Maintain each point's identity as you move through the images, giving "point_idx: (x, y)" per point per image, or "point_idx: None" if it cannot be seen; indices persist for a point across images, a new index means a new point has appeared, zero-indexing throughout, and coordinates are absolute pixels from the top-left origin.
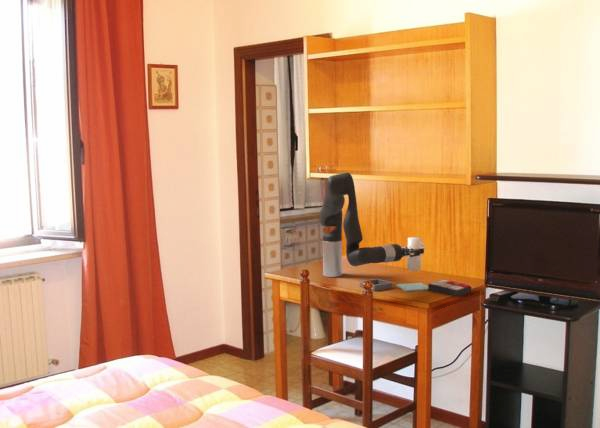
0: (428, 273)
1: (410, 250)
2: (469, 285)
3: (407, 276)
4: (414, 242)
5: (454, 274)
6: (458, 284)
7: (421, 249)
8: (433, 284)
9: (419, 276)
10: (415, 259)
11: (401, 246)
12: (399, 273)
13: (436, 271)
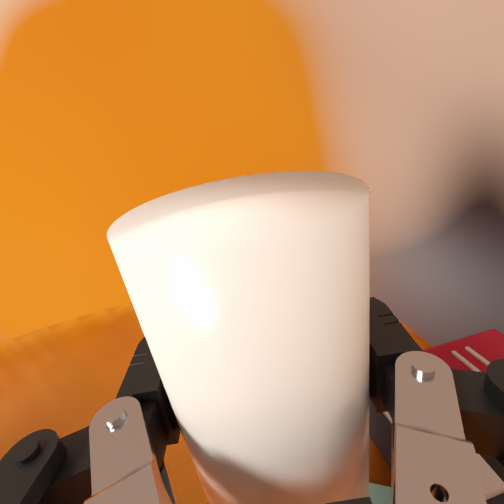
0: (123, 330)
1: (310, 450)
2: (497, 331)
3: (73, 419)
4: (361, 279)
5: None
6: (486, 361)
7: (371, 312)
8: (488, 497)
9: (122, 375)
10: (368, 476)
11: (28, 460)
12: (7, 417)
13: (128, 304)
